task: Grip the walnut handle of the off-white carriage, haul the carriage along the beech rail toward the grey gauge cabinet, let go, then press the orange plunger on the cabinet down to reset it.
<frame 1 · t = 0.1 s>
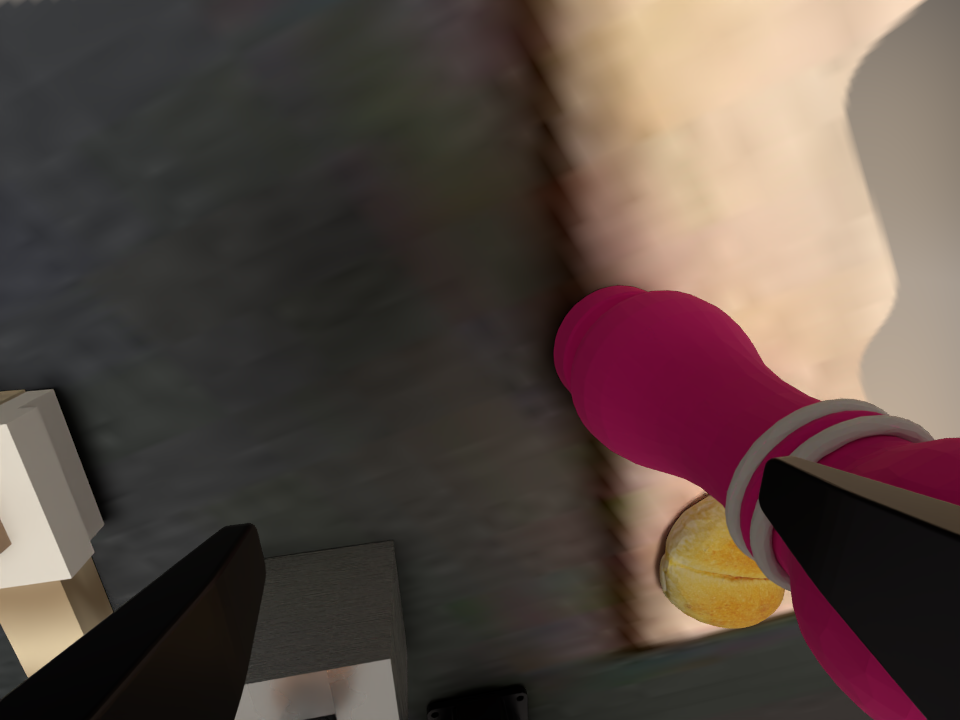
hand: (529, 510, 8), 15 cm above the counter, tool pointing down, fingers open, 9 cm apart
rail: (61, 570, 23), on the counter
bread roll: (715, 541, 30), on the counter
pepper mill: (609, 344, 24), on the counter
gauge cabinet: (328, 608, 26), on the counter
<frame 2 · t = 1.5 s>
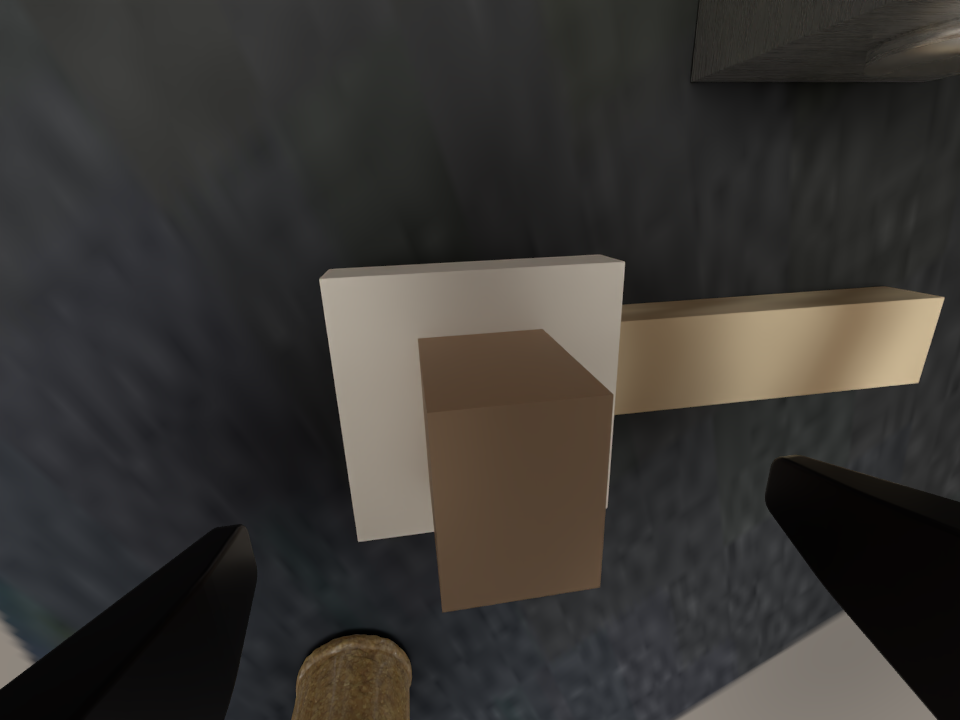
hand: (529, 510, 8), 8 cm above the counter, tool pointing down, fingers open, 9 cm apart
rail: (636, 346, 16), on the counter
sprinkles bottle: (356, 666, 19), on the counter
carriage: (485, 414, 11), point 4 cm above the counter, slide at 0.0 cm
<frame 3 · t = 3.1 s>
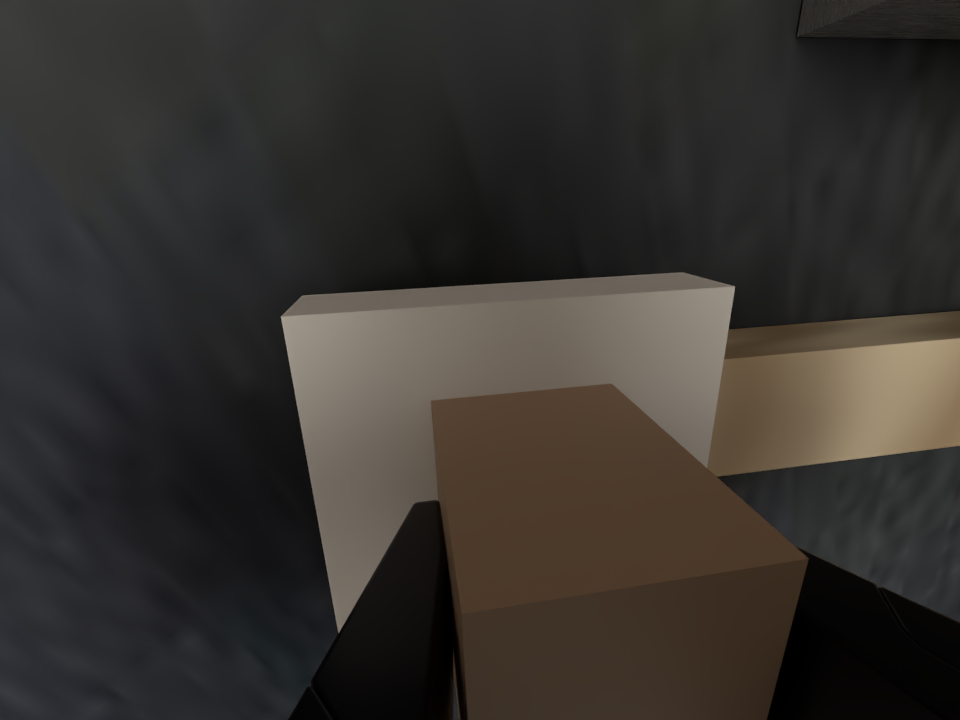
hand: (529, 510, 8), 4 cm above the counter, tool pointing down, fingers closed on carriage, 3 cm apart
rail: (705, 384, 13), on the counter
carriage: (527, 504, 8), point 4 cm above the counter, slide at 0.0 cm, touching gripper
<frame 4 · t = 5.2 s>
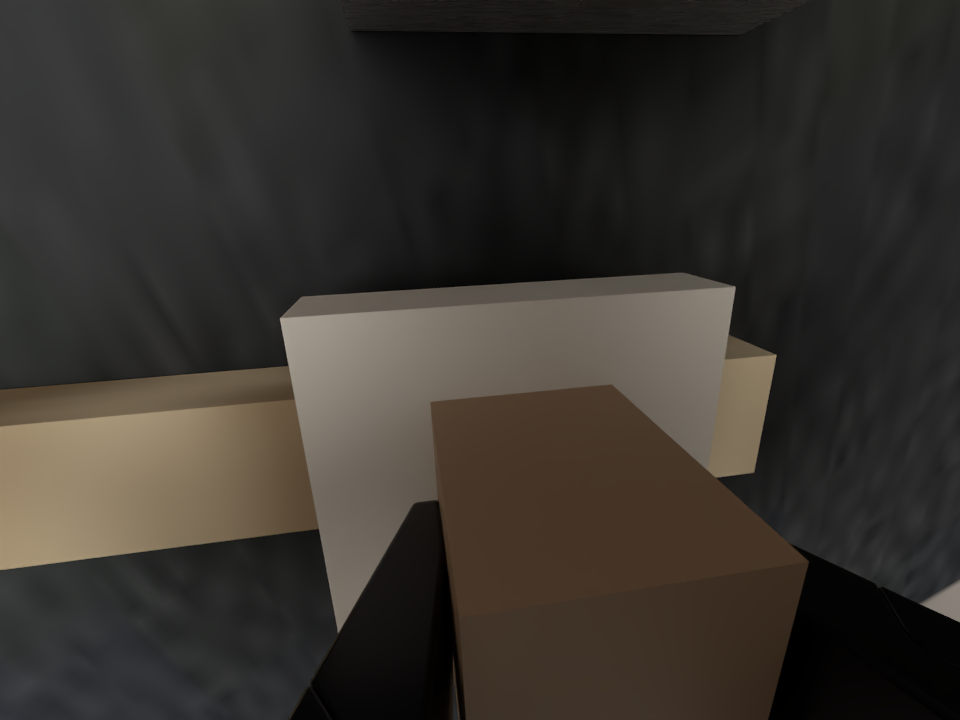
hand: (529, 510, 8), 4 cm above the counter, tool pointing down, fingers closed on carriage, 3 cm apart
rail: (350, 419, 11), on the counter
carriage: (527, 505, 8), point 4 cm above the counter, slide at 9.4 cm, touching gripper
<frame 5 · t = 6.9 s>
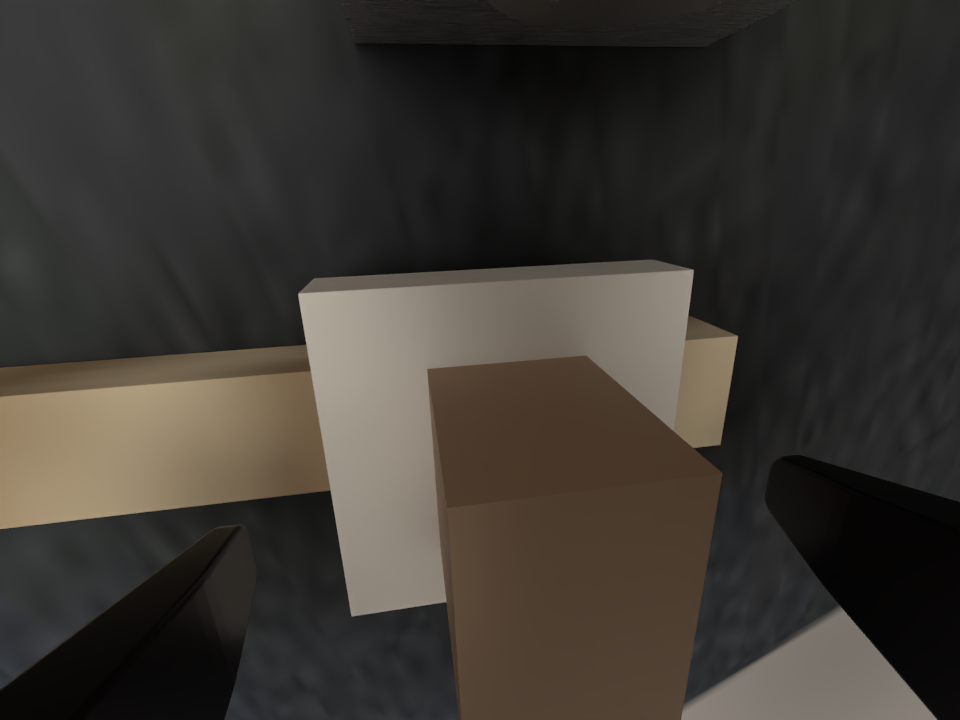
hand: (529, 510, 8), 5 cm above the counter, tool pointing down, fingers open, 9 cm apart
rail: (352, 395, 12), on the counter
carriage: (512, 463, 9), point 4 cm above the counter, slide at 9.4 cm
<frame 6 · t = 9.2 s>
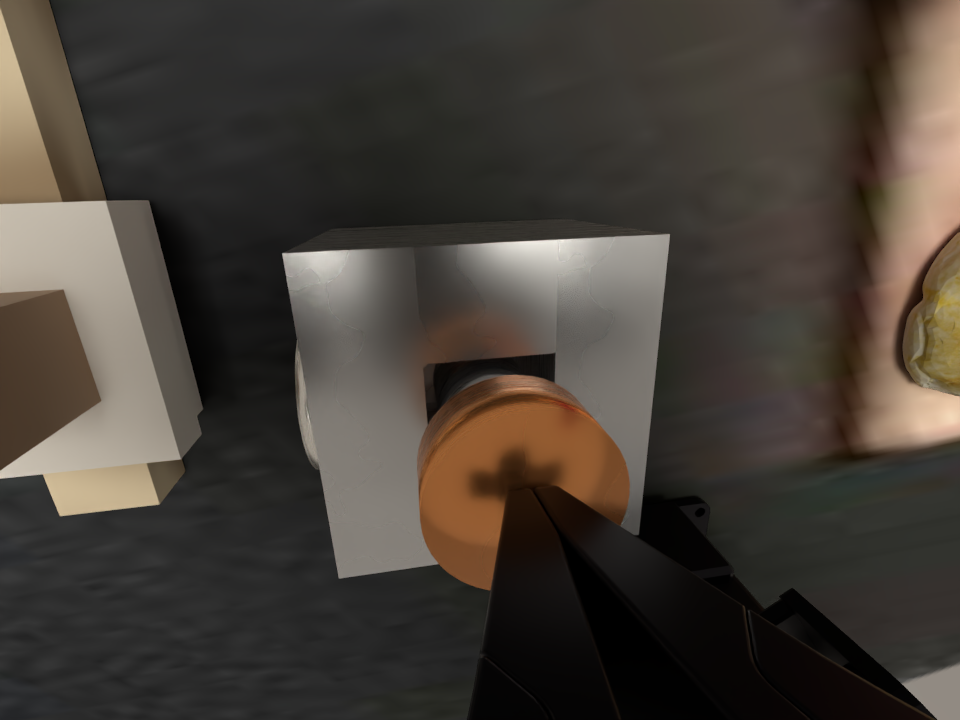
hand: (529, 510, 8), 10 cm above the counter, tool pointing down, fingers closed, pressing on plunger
plunger: (494, 424, 11), point 7 cm above the counter, slide at 0.5 cm, touching gripper
rail: (53, 206, 14), on the counter
gauge cabinet: (457, 334, 17), on the counter
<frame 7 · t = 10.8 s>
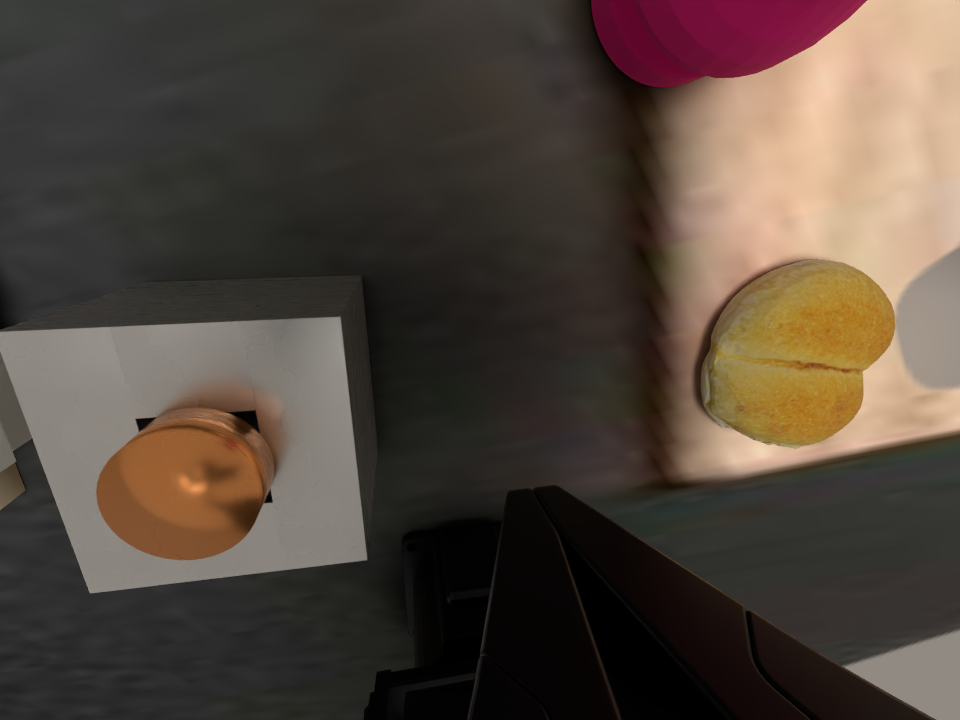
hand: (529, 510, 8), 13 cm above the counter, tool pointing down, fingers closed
plunger: (224, 440, 14), point 6 cm above the counter, slide at 2.1 cm
bread roll: (769, 350, 24), on the counter
gauge cabinet: (272, 373, 19), on the counter
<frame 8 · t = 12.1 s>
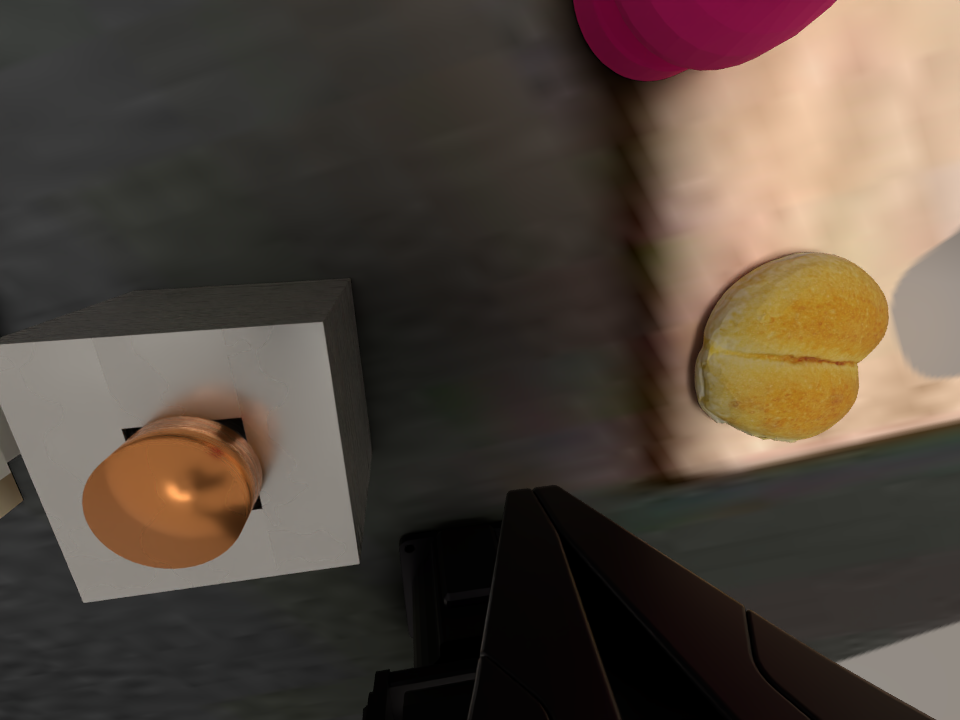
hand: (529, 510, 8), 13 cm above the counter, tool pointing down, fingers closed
plunger: (213, 447, 14), point 6 cm above the counter, slide at 2.1 cm
bread roll: (764, 344, 23), on the counter
gauge cabinet: (264, 379, 19), on the counter
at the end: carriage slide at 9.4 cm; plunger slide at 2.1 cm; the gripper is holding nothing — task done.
